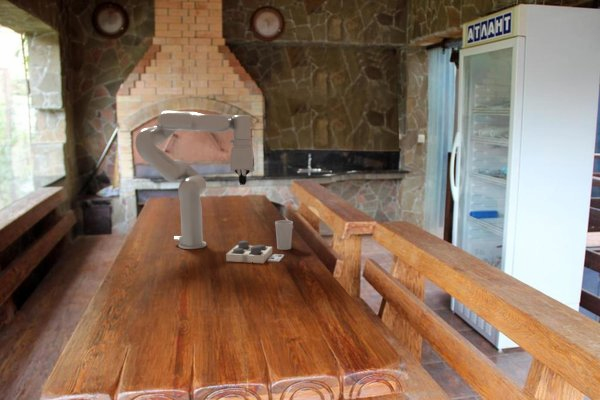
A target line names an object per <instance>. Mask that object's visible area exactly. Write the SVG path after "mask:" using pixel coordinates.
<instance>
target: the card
mask: <svg viewBox="0 0 600 400" xmlns="http://www.w3.org/2000/svg"><path fill="white" fill-rule="evenodd" d="M284 257H285V254H277V253H272V254H271V255H270V257H269V258H268V259H267V262H271V263H273V262H274V263H280V262H281V261H282V259H283V258H284Z"/></svg>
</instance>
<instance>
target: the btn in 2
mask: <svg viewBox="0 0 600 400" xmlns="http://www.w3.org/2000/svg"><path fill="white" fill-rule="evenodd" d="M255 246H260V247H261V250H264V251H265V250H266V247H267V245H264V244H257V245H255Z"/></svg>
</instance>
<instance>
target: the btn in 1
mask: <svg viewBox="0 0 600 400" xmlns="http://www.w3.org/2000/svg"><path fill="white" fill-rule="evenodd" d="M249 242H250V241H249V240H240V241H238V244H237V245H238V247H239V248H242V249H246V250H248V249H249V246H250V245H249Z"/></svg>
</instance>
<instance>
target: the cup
mask: <svg viewBox="0 0 600 400" xmlns="http://www.w3.org/2000/svg"><path fill="white" fill-rule="evenodd" d="M274 226H275V235H276V236H275V237H276V248H277V250H280V251H281V250H282V251H287V250H291V249H292V239H293V238H292V237H293V226H294V222H293V221H292V220H288V219H282V220H276V221H274Z"/></svg>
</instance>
